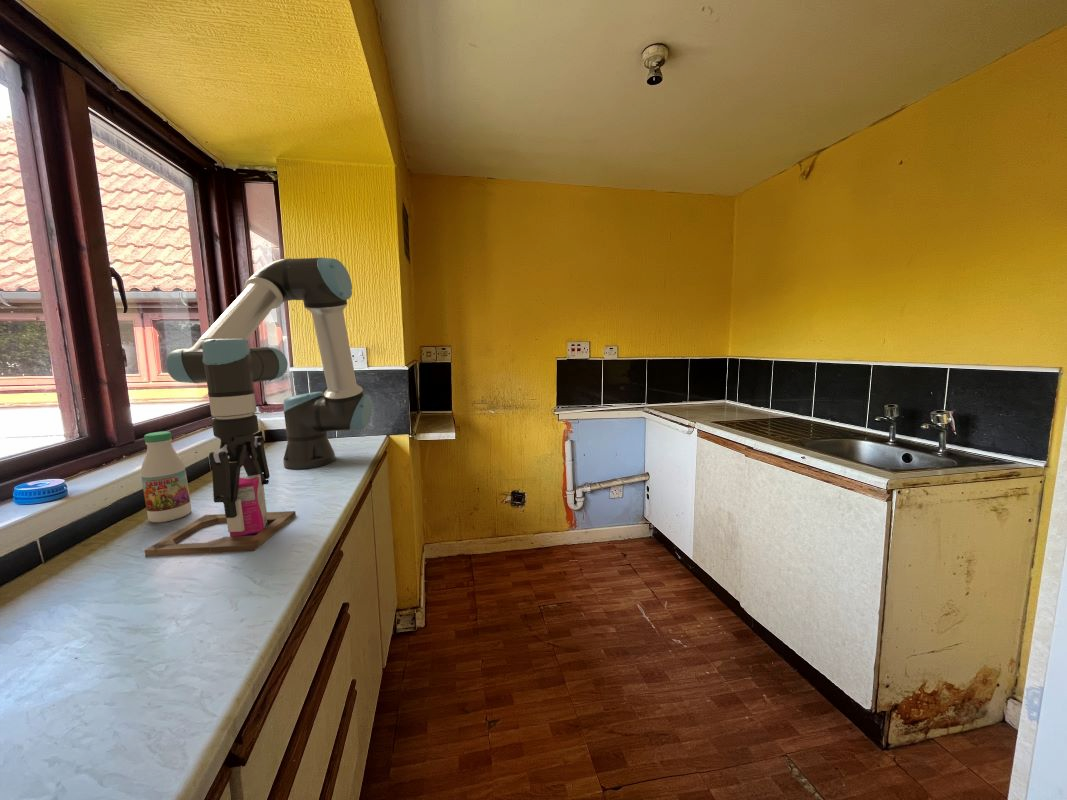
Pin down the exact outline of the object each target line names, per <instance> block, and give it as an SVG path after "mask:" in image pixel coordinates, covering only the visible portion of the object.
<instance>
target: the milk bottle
mask: <svg viewBox="0 0 1067 800" xmlns="http://www.w3.org/2000/svg"><path fill="white" fill-rule="evenodd" d="M172 438H173V437H172V432H171V431H155V432H149V433H146V434H144V436H143V439H144V442H145V445H146V453H145V456H144V459H143V461H142V464H141V468H140V470H141V471H140V475H141V485H142V491H143V496H144V497H143V498H144V502H145V509H146V514H147V519H148V521H149V522H150V523H165V522H169V521H170V522H171V521H174V520H178V519H181V518H183V517H186V516H187V515H190V514H191V512H192V504H191V496H190V490H189V484H188V478H187V477H188V476H187V472H186V467H185V463H184V461H183V459H182V457H181V456H180V455H179V454H178V452H177V451H176V450H175V448H174V447H173V444H172V442H173V439H172Z"/></svg>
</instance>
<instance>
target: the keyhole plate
mask: <svg viewBox="0 0 1067 800" xmlns="http://www.w3.org/2000/svg"><path fill="white" fill-rule="evenodd" d="M266 516H267V522H268V524H267V526H266V528H264V529H263V530H262V531H261V532H259V533H258V534H257V535H253V536H231V537H230V536H224V537H219V538H217V539H213V540H210V541H207V542H190V543H187V542H186V543H179V542H181V541H183V540H184V539H186V538H187V537H189V536H191V535H193V534H194V533H196V532H197V531H199V530H200V529H202V528H205V527H208V526H212V525H216V524H218V523H219V524H222V523H225V524H227V518H226V516H225V513H222V514H221V513H219V514H218V513H216V514H215V513H214V514H205V515H202V516H200V517H199V518H197V519H196V520H194V521H192V522H191V523H189V524H187V525H185V526H184V527H182V528H180V529H179V530H176V531H175V532H173V533H172V534H170V535H168V536H166V537H164V538H163V539H161V540H160V541H158V542H156V543H154V544H152V545H151V546H149V547H147V548H146V549H144V555H145V557H149V556H150V557H153V556H154V557H157V556H174V555H175V556H176V555H177V556H178V555H192V554H193V555H198V554H215V553H216V554H218V553H236V552H239V553H240V552H254V551H256V550H257V549H258V548H260V546H262V545H263V544H264V543H265V542H267V541H268V540H269V539H270V538H271V537H272V536H274V535H275V534H276V533H277V532H279V531H280V530H281V529H282V528H284V526H286V525H287V524H288V523H289V522H290V521H291V520H293V519H294V518H296V516H297V514H296V510H292V511H289V510H288V511H267V514H266Z"/></svg>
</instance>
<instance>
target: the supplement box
mask: <svg viewBox="0 0 1067 800" xmlns="http://www.w3.org/2000/svg"><path fill="white" fill-rule="evenodd" d="M237 499H241V505H242V513H243V521H244V528H245V530H244V531H241V532H229V537H231V536H253V535H257V534H258V533H259V532H261V531H262V530H263V529H264V528H266V527H267V526H268V525H267V524H268V522H267V516H266V510H267V509H266V510H265V503H264V496H263V489H262V483H261V476H260V474H258V475H252V476H240V478H239V487H238V496H237Z"/></svg>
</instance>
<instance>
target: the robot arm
mask: <svg viewBox="0 0 1067 800" xmlns="http://www.w3.org/2000/svg"><path fill="white" fill-rule="evenodd" d="M243 287H244V288H243V289H244V290H243V291H242V292H241V293H240V294H239V295H238V296H237V297H236V299H235V300H233V301H232V303H231V304H230V305H229V306H228V307H227V308H226V309H225V310H224V312H223V313H222V314H221V315H220V316H218V318H217V319H216V320H215V322H214V323H212V324H211V326H210V327H208V329H207V330H206V331H205V332H204V333H203V334H202V335H201V337H200V338H199V339H198V340H197V341H196V342H195V343H194V344H193V345H192V346H191V347H190V348H185V347H184V348H181V349H180V348H178V349H175V350H172V351H170V353H169V354H168V355H167V357H166V360H165V368H166V371H167V374H168V375H169V376H170V377H171V378H172V379H173V380H174V381H176V382H179V383H185V384H187V383H189V384H190V383H191V384H207V385H206V386H207V389H208V391H207V393H208V398H209V399H208V400H209V408H210V415H211V416H212V417H214V418H213V419H212V420H211V423H212V424H211V426H212V431H213V436H214V437H215V438H218V439H219V441H220V445H219V449H218V450H217V451H210V453H209V455H208V456H209V460H210V461H211V462H210V463H211V472H212V473H211V474H212V492H213V494H212V497H213V503H222V504H223V508H224V514H225V516H226V518H227V523H226V524H227V525H226V526H227V531H228V533H230V532H241V531H244V530H245V528H244V521H243V513H242V505H241V499H237V496H238V487H239V478H240V477H241V476H240V475H241V468H242V467H243V469H244V470H245V471H244V472H245V473H246V475H247V476H252V475H258V474H260V476H261V483H262V489H263V496H264V503H265V510H266V514H267V512H268V511H267V503H266V502H267V501H266V496H265V495H266V494H265V485H269V483H270V471H269V467H268V466H269V465H268V461H267V455H266V452H265V438H264V436H255V435H254V434H257V433H258V432H259V429H260V428H259V422H258V421H259V420H258V415H257V414H255V413H256V412H257V411H258V410H257V403H256V398H255V389H254V383H260V382H266V381H268V382H269V381H273V380H275V379H276V380H277V379H279V378H282V377H283V376H284V375H285V374H286V372H287V371H288V365H289V363H288V359H287V357H286V355H285V354H284V353H283V352H282V351H281V350H280V349H278V348H275V347H271V346H270V347H269V346H260V347H259V346H258V347H249V343H248V340H249V339H250V338H251V337H252V335H253V334H254V332H256V330H257V329H258V328H259V327H260V325H261V324H262V323H263V321H264V320H265V319H266V318H267V316H268V315H269V314H270V313H271V311H272V310H273V309H274V310H275V309H278V308H279V307H280V306H281V305H282V304H283V303H285V302H289V301H302V302H303V306H304V309H306V310H307V311H309V312H310V313H311V316H312V320H313V327H314V330H315V335H316V340H317V345H318V349H319V353H320V358H321V359H320V360H321V364H322V368H323V373H324V378H325V382H326V388H327V389H326V390H325V391H324V392H323V391H313V392H308V393H302V394H296V395H291V396H288V397H286V398H285V399H284V401H283V410H282V412H283V413H284V416H283V417H284V424H285V430H286V431H285V433H286V440H287V443H286V444H287V445H286V447H285V452H284V456H283V461H282V462H283V467H284V468H285V469H290V470H304V469H311V468H317V467H322V466H326V465H329V464H331V463H333V462H335V461H336V454H335V451H334V449H333V446H332V444H331V442H330V441H329V439H328V432H354V431H363V430H365V429H366V428H367V427H368V426H369V424H370V422H371V418H372V413H373V401H372V398H371V396H370V395H368V394H364V391H363V387H362V386H361V385H359V384H358V383H357V379H356V375H355V373H356V372H355V370H354V368H355V367H354V363H353V356H352V352H351V347H350V341H349V335H348V330H347V325H346V319H345V313H344V309H346V307H347V306H348V300H349V299H350V298H351V297H352V295H353V285H352V279H351V276H350V274H349V271H348V270H347V268H346V267H345V265H344V264H343V263H342V262H341V261H340V260H338V259H336V258H333V257H307V258H306V257H305V258H304V257H303V258H299V257H298V258H290V257H289V258H282V259H276V260H275V261H273V262H271V263H268V264H266V265H265V266H262V267H261V268H260V269H258V270H256V272H254V273H253V274H252V275H251V276H250V277H249V278H247V280H246V281H245V283H244V285H243Z"/></svg>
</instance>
